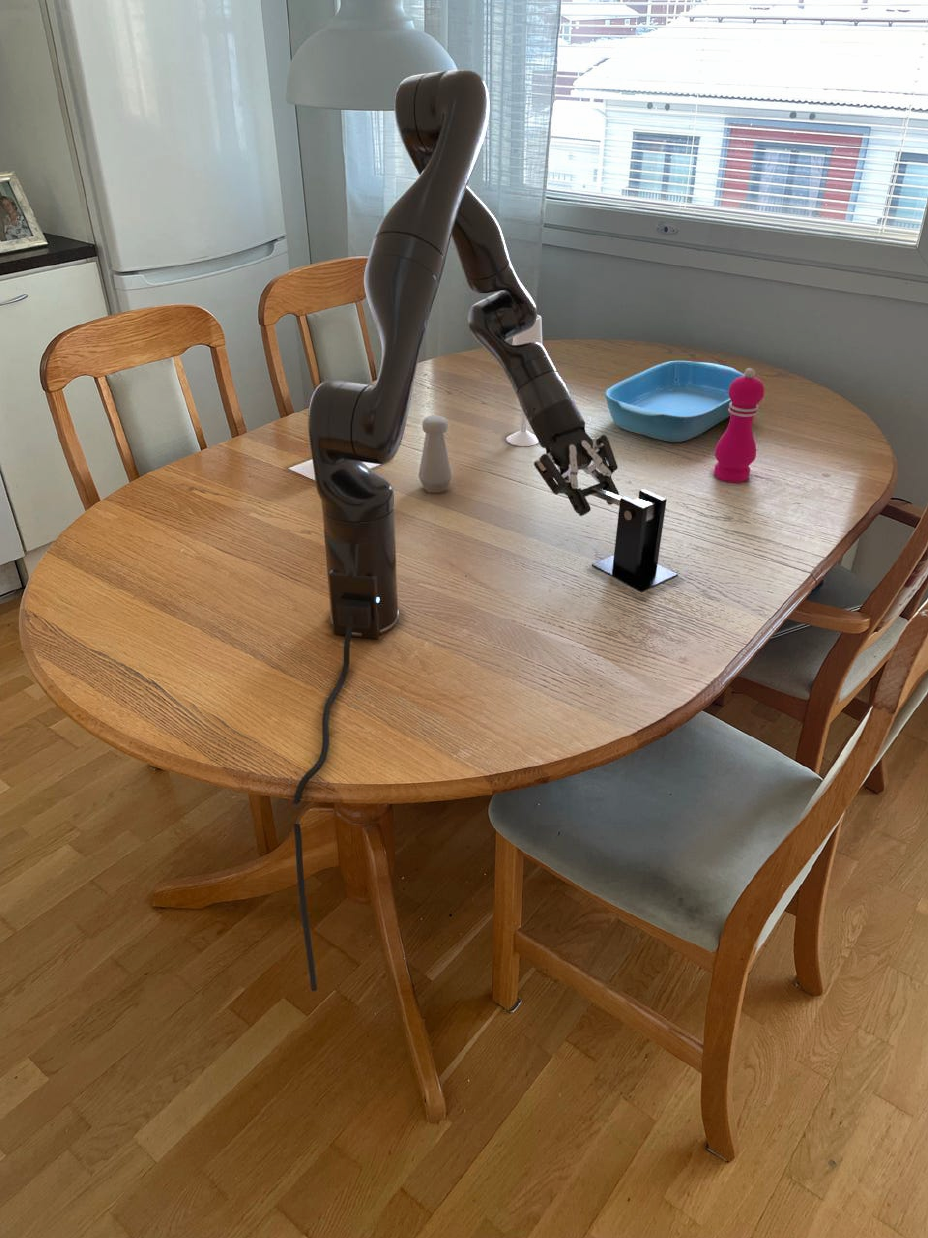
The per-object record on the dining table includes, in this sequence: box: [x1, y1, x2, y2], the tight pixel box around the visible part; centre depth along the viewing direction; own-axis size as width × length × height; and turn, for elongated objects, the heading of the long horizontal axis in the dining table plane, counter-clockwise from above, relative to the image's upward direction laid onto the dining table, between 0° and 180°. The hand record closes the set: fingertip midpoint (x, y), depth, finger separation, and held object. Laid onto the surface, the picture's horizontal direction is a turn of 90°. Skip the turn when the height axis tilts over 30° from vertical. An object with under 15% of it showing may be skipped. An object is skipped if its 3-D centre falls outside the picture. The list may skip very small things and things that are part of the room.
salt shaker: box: [418, 415, 453, 494], centre depth 160 cm, size 6×6×13 cm
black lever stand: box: [591, 488, 679, 593], centre depth 135 cm, size 10×8×13 cm
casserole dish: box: [604, 360, 745, 443], centre depth 192 cm, size 37×22×7 cm, turn 140°
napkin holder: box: [287, 459, 382, 481], centre depth 170 cm, size 15×11×6 cm
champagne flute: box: [506, 314, 543, 447], centre depth 177 cm, size 7×7×24 cm
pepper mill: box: [713, 367, 765, 483], centre depth 164 cm, size 7×7×20 cm
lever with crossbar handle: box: [581, 482, 655, 521], centre depth 135 cm, size 12×6×2 cm, turn 39°
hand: (600, 507), depth 139 cm, fingers closed on lever with crossbar handle, 5 cm apart
